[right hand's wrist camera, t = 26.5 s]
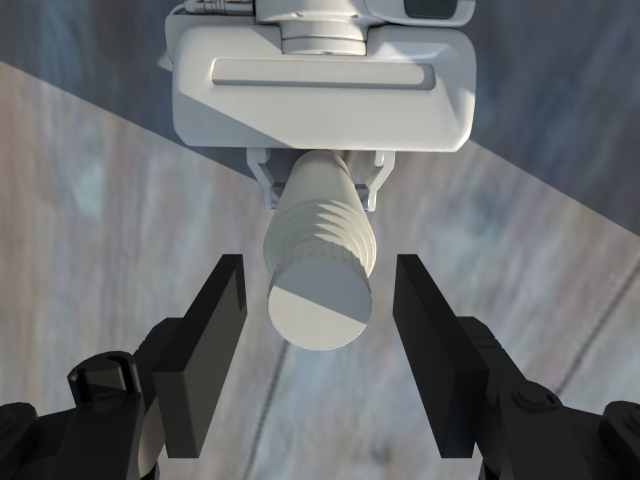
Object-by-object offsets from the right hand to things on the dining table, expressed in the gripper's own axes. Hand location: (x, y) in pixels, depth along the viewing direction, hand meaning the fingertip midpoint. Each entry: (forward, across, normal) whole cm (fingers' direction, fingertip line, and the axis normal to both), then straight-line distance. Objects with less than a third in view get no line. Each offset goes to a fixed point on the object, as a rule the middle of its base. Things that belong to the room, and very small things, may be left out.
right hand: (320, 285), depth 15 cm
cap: (-1, 0, 0) cm, 1 cm away
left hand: (+14, 0, -1) cm, 14 cm away
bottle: (+21, 0, 0) cm, 21 cm away
